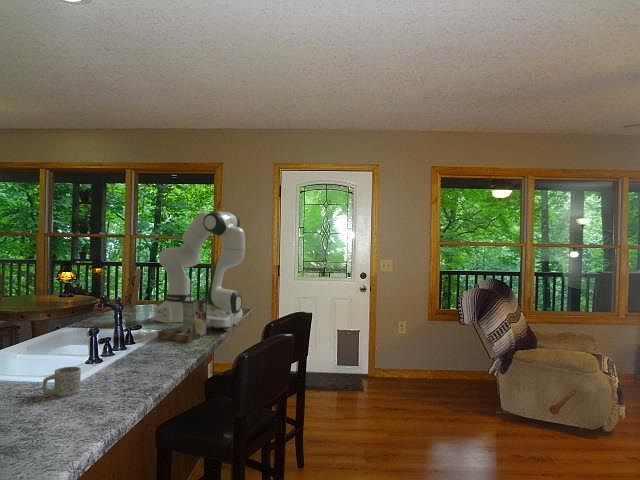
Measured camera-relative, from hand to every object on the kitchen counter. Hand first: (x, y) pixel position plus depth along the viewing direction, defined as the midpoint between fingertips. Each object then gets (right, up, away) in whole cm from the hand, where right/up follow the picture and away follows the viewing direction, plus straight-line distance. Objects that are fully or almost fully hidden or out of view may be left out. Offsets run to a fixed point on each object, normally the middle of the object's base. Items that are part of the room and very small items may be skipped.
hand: (200, 322), depth 222 cm
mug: (-18, -6, -86) cm, 88 cm away
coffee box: (-2, -5, -4) cm, 7 cm away
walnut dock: (-5, -5, -10) cm, 12 cm away
